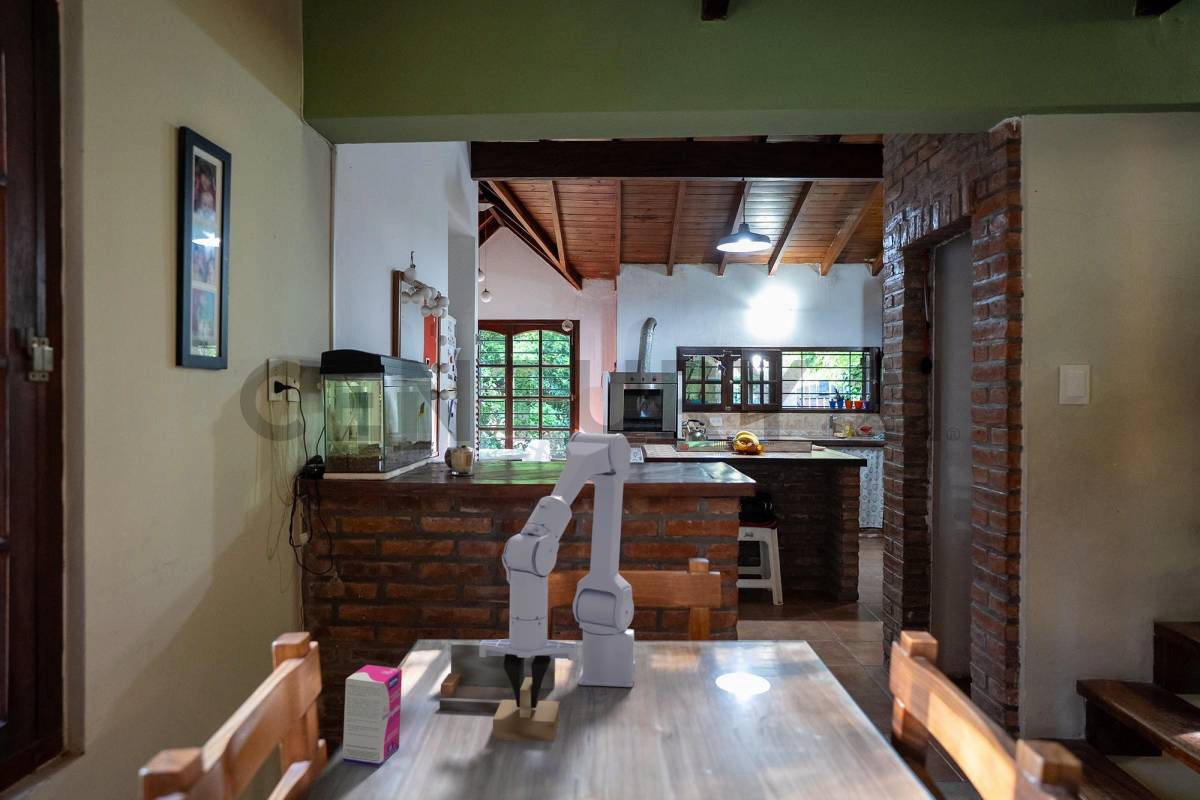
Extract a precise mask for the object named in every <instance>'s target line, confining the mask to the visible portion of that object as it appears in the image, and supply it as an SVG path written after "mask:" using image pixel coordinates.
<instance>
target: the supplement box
mask: <svg viewBox="0 0 1200 800" xmlns="http://www.w3.org/2000/svg"><path fill="white" fill-rule="evenodd" d="M402 678H403V669H402V668H398V667H388V666H380V665H372V664H366V665H365V666H363V667H362V668H360V669H358V670H357V671H355V672H354V673H352V674H350V675H349V676H348V677H347V678H345V689H344V690H345V693H344V714H343V715H344V716H343V717H344V718H343V720H344V721H343V738H342V739H343V740H342V741H343V742H342V744H343V745H342V760H341V761H342V763H345V764H352V765H358V766H361V765H362V766H367V767H373V768H374V767H375V768H376V767H377V768H378V767H379V768H380V767H381V766H382V765H383V763H385V762H386V760H388V758H390V756H392V755H393V754H394V752H396V751H397V750H399V748H400V734H401V730H400V729H401V707H402V706H401V705H402V704H401V703H402Z"/></svg>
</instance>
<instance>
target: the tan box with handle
mask: <svg viewBox="0 0 1200 800" xmlns="http://www.w3.org/2000/svg"><path fill="white" fill-rule="evenodd" d="M531 696H532V677H525V679H524V682H523V684H522V687H521V689H520V707H517V704H516V699H501V700H502V701H501V703H500V705H499V708H498V710H497V712H495V714H494V716H493V719H492V740H506V741H507V740H510V741H533V742H555V740H556V735H557V731H558V727H559V723H560V709H561V708H560V703H561V702H560V701H556V700H555V701H551V700H538V704H537V707H536V708H531Z"/></svg>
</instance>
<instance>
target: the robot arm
mask: <svg viewBox="0 0 1200 800" xmlns="http://www.w3.org/2000/svg"><path fill="white" fill-rule="evenodd" d="M631 453H632V450H631V445H630V443H629V441H628V438H627V437H626V436H625V435H624V434H623V433H597V432H596V433H595V432H593V433H592V432H582V431H575V432H574V433H572V435H571V436H570V437H569V440H568V442H567V444H566V446H565V458H566V459H565V460H566V462H565V464H564V466H563V468H562V470H561V473H560V475H559V477H558V479H557V481H556V483H555V486H554V488H553V490H552V492H551V494H550V495H547V496H543V497H541V498H540V499H539V501H538V503H537V505H536V506H535V508H534V510H533V511H532V513H531V515H530V517H529V518H528V519H527V522H526V523H525V525H524V527H523V528H522V529H521V531H520V533H517V534H515V535H513V536H511V537H510V538H509V539H508V540H507V541H506V543H505V545H504V549H503V553H502V554H501V560H502V565H503V567H504V569H505V571H506V581H507V583H508V584H509V638H504V639H482V640H481V642H479V643H480V644H479V657H487V656H505V659H504V663H503V666H504V670H505V671H506V673H507V675H508V677H509V679H510V682H511V684H512V687H511V688H512V690H513V693H514V696H515V700H516V704H517V707H520V689H521V687H522V684H523V675H524V659H525V658H529V657H535V658H534V660H533V662H532V664H531V670H532V696H531V708H536V707H537V704H538V701H539V695H540V691H541V689H540V687H541V684H542V680H543V677H544V675H545V673H546V671H547V669H548V666H549V664H550V661H551V659H552V658H555V659H561V660H563V659H564V660H565V659H566V660H568V661H570V662H571V661H573V662H574V661H576V659H577V649H578V648H577V643H570V642H565V641H564V642H562V641H558V640H552V639H548V622H549V621H548V617H549V613H548V611H549V609H548V608H549V606H548V605H549V603H548V602H549V574H550V573H551V572H552V571H553V569H554V568H555V565H556V564H557V563H556V562H557V557H558V551H559V549H560V543H559V541H560V539H561V537H562V536H563V534H564V532H565V530H566V528H567V526H568V524H569V522H570V521H571V519H572V516H573V512H572V510H571V505H572V503H573V501H575V499H576V498H577V496H578V494H579V493H580V492H581V490H582V488H584V486H585V484H586V483H587V482H588V480H591V482H592V484H593V485H594V498H593V500H594V501H593V515H592V530H591V531H592V532H591V533H592V534H591V548H590V549H591V550H590V552H591V553H590V564H589V567H590V568H589V573H588V574H586V575H585V576H584V577H583V578H581V579H580V580H579V581H578V582H577V587H576V592H575V596H574V599H573V602H572V612H573V617H574V619H575V621H576V622H578V623H579V625H578V626H579V629H582V667H581V669H580V674H579V678H578V681H577V683H578V685H580V686H596V687H619V688H620V687H621V688H623V687H624V688H632V687H633V684H634V673H636V661H635V660H634V659H635V630H634V629H631V628H628V627H629V626H630V624H631V623H632V620H633V618H634V613H635V605H634V600H633V587H632V585H631V584H630V583H629V582H628V581H627V580H626V579H625V578H624V577H623V576H622V575H621V574H620V573H619V565H620V563H619V562H620V549H621V548H620V547H621V533H622V531H621V530H622V529H621V528H622V513H623V510H622V509H623V495H624V482H625V481H627V480H629V478H630V470H631V469H630V468H631Z"/></svg>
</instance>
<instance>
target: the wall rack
mask: <svg viewBox="0 0 1200 800" xmlns="http://www.w3.org/2000/svg"><path fill="white" fill-rule="evenodd" d="M480 643H481V642H475V641H473V642H471V641H452V643H451V644H450V647H451V648H450V673H448V674H447V675H446V677H445V678H444V679H443V680H442V682H441V683H440V699H439V710H440V711H441V710H442V711H458V710H459V711H460V712H465V711H467V712H481V713H482V712H483V713H484V712H485V713H496V712H497V710H498V708H499V705H500V703H501V701H502V700H503V699H499V700H498V699H482V698H481V699H477V698H476V699H475V698H460V697H459V698H455V697H454V695H455V694H456V693H457V691H458V689H459V688H460V687H461V686H468V685H478V686H477V687H496V688H497V687H498V688H513V687H512V684H511V682H510V679H509V677H508V675H507V673H506V671H505V670H504V666H503V663H504V659H505V656H487V657H479V644H480ZM534 658H535V657H529V658H525V659H524V675H523V682H524V679H525V677H532V670H531V664H532V662H533V660H534ZM479 685H480V686H479ZM555 685H556V658H552V659H551V661H550V664H549V666H548V669H547V671H546V673H545V675H544V677H543V680H542V684H541V687H540V690H541V689H545V690H555ZM458 687H459V688H458ZM459 711H458V712H459Z"/></svg>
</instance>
